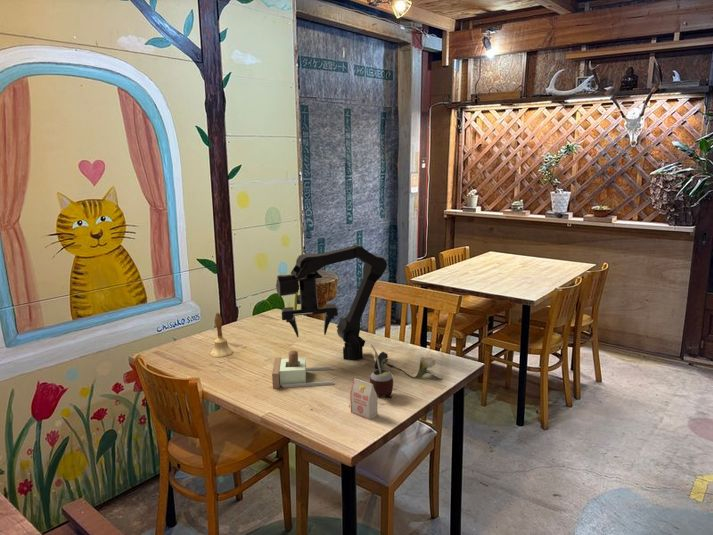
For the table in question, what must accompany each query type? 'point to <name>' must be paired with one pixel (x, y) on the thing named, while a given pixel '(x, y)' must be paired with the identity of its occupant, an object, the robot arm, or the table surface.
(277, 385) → the guide board
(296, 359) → the walnut peg
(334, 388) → the table surface
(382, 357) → the artificial flower
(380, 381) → the mate gourd
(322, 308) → the robot arm
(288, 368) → the sliding block
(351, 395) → the tea bag
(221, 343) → the hand bell
